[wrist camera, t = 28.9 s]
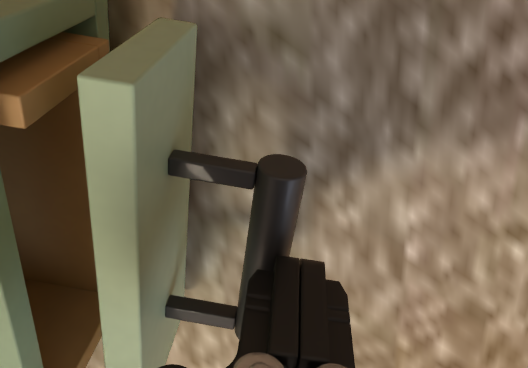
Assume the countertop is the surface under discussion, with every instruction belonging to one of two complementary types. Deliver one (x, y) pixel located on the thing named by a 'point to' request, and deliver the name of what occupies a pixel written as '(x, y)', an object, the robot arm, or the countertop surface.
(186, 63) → the drawer
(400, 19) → the countertop surface
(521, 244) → the countertop surface
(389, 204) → the countertop surface
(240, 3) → the countertop surface
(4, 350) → the cabinet
